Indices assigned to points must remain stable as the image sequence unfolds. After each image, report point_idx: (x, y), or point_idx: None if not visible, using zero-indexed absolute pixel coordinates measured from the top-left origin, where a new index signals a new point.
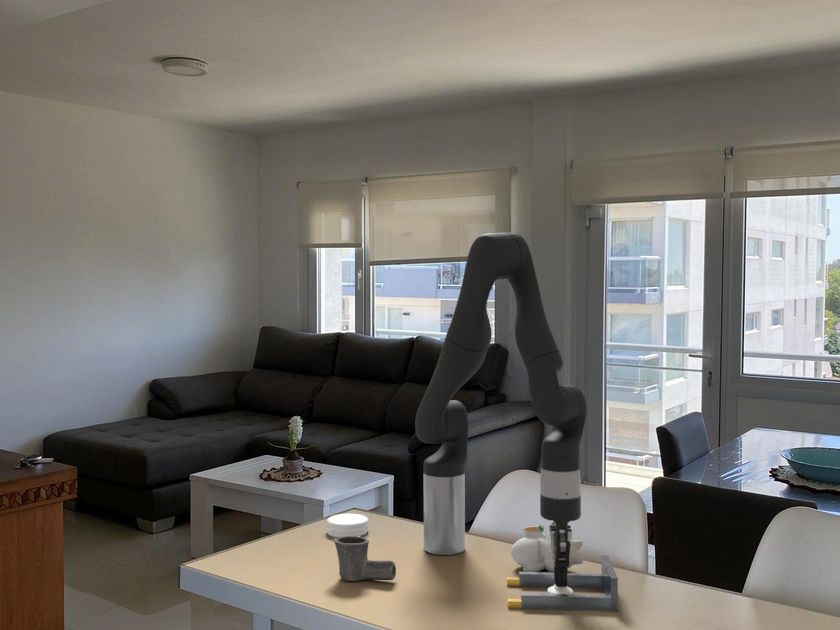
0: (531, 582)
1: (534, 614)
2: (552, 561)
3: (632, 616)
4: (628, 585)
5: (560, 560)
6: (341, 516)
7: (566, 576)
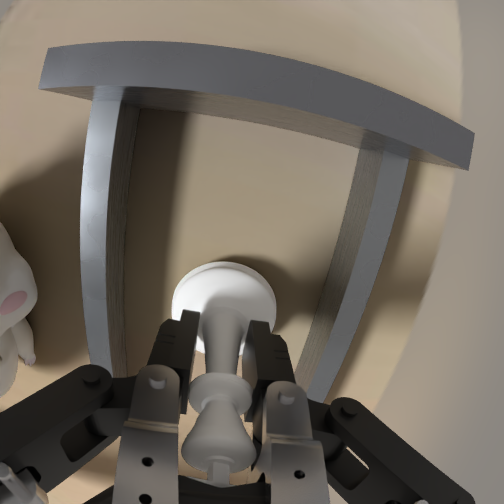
0: (123, 371)
1: (343, 387)
2: (17, 313)
3: (425, 102)
4: (126, 5)
5: (338, 453)
6: None
7: (272, 349)
